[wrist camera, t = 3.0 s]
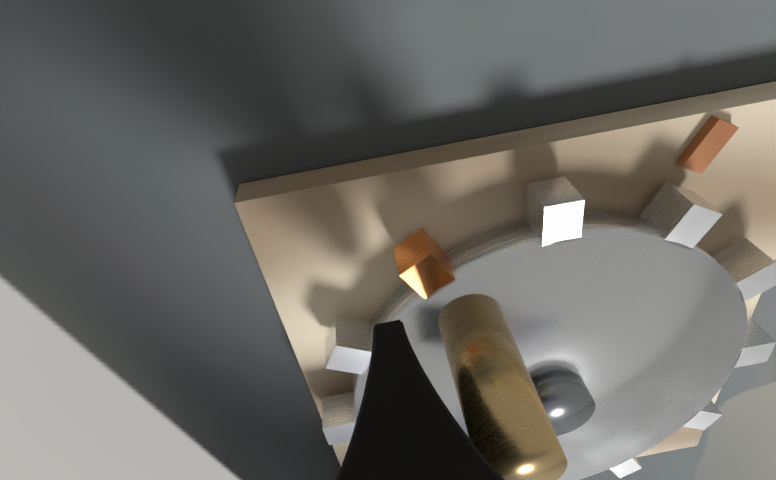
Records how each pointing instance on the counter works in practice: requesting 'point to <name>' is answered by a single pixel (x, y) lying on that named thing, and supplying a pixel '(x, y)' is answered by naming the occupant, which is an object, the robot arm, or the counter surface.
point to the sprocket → (569, 331)
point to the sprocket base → (500, 206)
